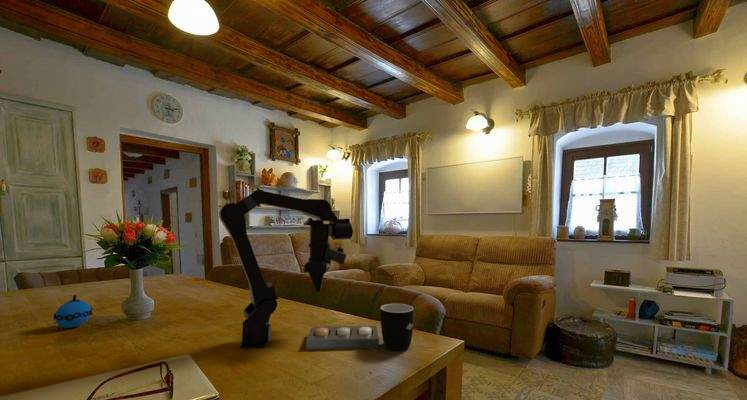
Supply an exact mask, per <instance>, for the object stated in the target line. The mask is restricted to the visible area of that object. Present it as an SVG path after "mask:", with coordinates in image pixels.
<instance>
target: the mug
mask: <svg viewBox="0 0 747 400" xmlns="http://www.w3.org/2000/svg"><path fill="white" fill-rule="evenodd" d="M379 313H380V314H379V315H380V328H381V336H382V341H383V344H384V347H385V348H386V349H387V350H390V351H391V352H393V351H394V352H402V351H406V350H408V349H409V348H410V345H411V344H412V339H413V333H414V321H415V320H414V316H415V315H414V314H415V312H414V307H413V306H412V305H409V304H405V303H387V304H382V305H381V306H380V312H379Z"/></svg>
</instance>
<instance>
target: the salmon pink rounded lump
mask: <svg viewBox="0 0 747 400" xmlns="http://www.w3.org/2000/svg"><path fill="white" fill-rule="evenodd" d="M315 336H328V328H318V329H316V330H315Z"/></svg>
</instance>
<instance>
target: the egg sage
mask: <svg viewBox="0 0 747 400" xmlns="http://www.w3.org/2000/svg"><path fill="white" fill-rule="evenodd" d="M340 327H341V328H338V329H337V336H339V335H350V328H347V327H342V326H340Z"/></svg>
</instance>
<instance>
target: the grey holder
mask: <svg viewBox="0 0 747 400" xmlns="http://www.w3.org/2000/svg"><path fill="white" fill-rule="evenodd" d="M341 327H347V328H350V335H339V336H337V329H338V328H341ZM361 327H370V328H371V335H359V328H361ZM318 328H328V336H315V330H316V329H318ZM305 342H306V343H305V345H306V346H305V350H306V351H313V350H314V351H315V350H317V351H320V350H348V349H349V350H354V349H358V350H359V349H379V348H380V337H379V333H378V326H377V325H353V326H352V325H351V326H347V325H346V326H343V325H342V326H311V328H310V331H309V333H308V335H307V338H306V341H305Z"/></svg>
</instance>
